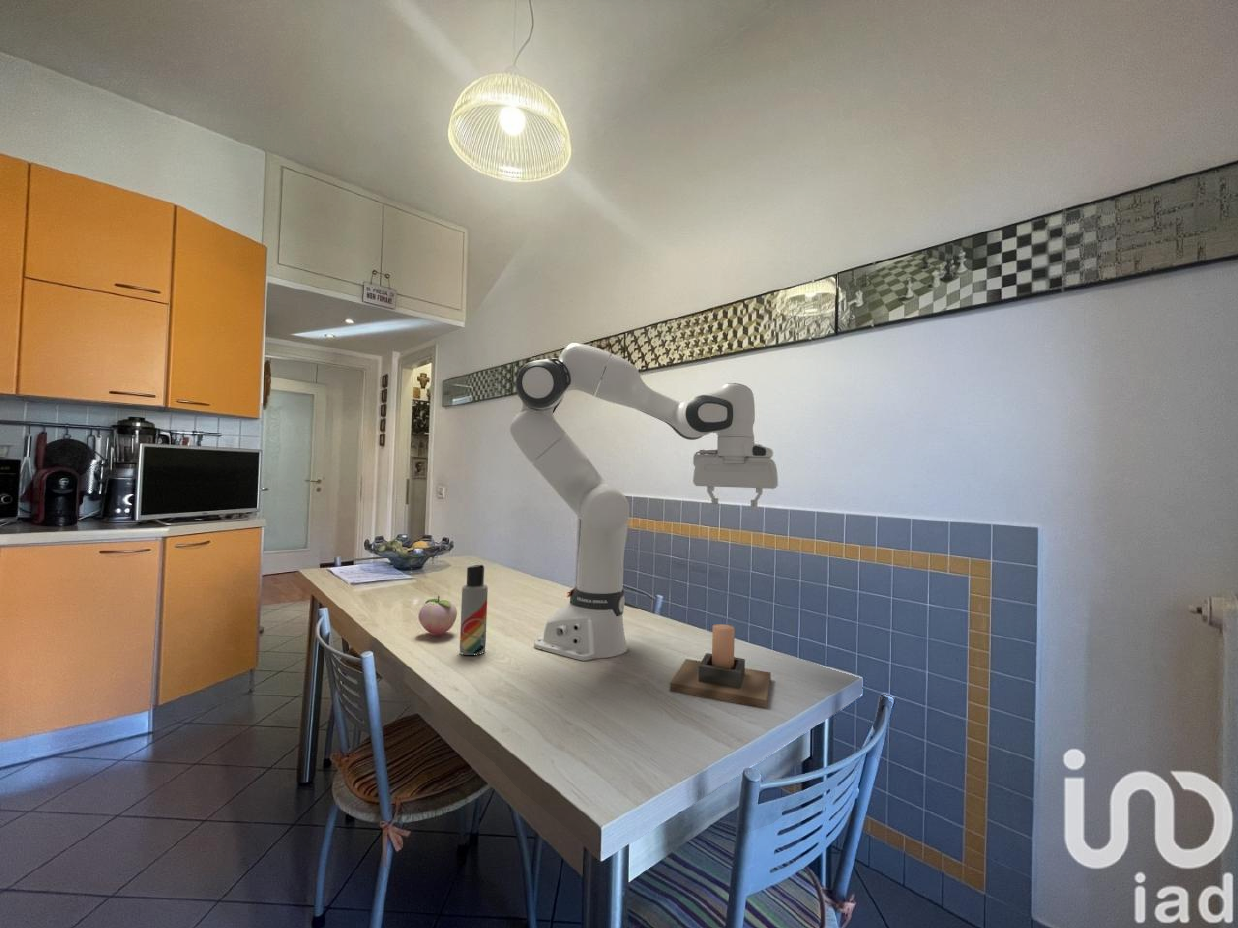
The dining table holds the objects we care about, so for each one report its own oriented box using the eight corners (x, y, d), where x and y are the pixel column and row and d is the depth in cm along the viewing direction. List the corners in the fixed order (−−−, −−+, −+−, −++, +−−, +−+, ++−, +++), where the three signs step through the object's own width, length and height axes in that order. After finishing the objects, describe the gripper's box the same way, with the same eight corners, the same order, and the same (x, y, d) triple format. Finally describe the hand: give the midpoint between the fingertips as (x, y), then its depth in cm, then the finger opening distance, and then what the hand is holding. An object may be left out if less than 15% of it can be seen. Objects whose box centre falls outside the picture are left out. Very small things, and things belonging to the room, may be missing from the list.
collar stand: (669, 690, 95) (670, 667, 95) (685, 665, 108) (686, 645, 108) (766, 708, 89) (766, 683, 89) (770, 679, 102) (770, 657, 102)
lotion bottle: (477, 657, 109) (481, 567, 110) (454, 655, 110) (458, 566, 111) (489, 649, 115) (492, 563, 115) (467, 646, 116) (470, 562, 116)
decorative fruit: (463, 633, 125) (465, 594, 126) (441, 643, 118) (443, 601, 118) (434, 628, 129) (436, 590, 129) (411, 637, 121) (413, 596, 121)
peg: (709, 679, 97) (710, 628, 97) (713, 671, 101) (714, 623, 102) (732, 683, 96) (733, 631, 96) (735, 675, 100) (735, 625, 100)
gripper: (691, 448, 121) (689, 504, 120) (777, 449, 113) (776, 508, 113) (696, 450, 127) (694, 503, 126) (778, 451, 119) (777, 507, 119)
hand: (734, 506), depth 119 cm, fingers open, 8 cm apart
